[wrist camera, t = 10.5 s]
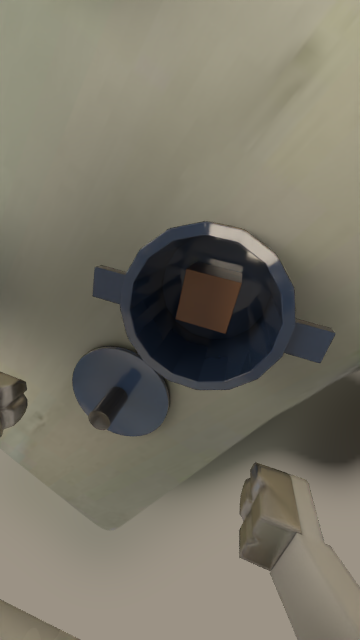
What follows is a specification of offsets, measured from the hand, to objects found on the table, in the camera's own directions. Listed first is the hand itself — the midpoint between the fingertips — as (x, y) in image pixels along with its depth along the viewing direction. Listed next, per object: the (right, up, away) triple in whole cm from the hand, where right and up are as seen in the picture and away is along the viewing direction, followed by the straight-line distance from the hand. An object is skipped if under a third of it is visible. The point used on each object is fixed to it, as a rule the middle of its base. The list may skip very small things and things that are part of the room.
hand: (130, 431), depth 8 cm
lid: (-6, -6, +23) cm, 25 cm away
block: (+5, +7, +16) cm, 18 cm away
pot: (+5, +7, +16) cm, 19 cm away
